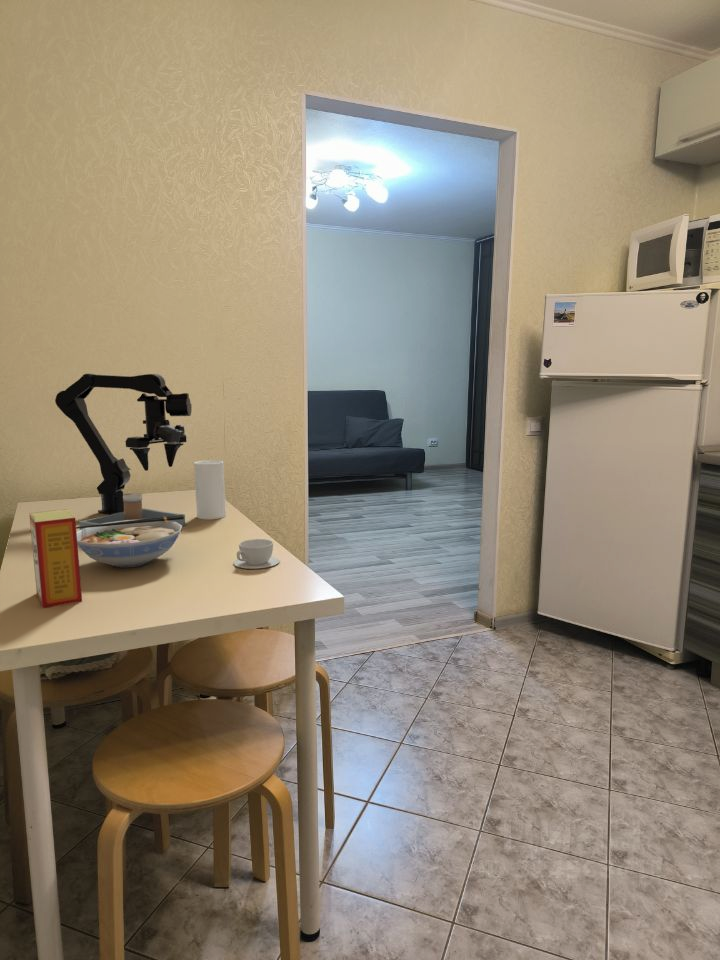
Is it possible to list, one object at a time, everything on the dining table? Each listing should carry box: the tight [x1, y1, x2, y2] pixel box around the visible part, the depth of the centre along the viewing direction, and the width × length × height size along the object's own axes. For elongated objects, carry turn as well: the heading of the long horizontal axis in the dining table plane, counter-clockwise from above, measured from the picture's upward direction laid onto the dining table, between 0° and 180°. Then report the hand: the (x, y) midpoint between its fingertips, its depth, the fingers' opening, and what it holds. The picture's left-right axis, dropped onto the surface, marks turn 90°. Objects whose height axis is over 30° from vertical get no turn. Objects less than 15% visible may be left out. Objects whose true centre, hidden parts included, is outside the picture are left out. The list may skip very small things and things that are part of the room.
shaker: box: [123, 492, 143, 520], centre depth 176 cm, size 5×5×8 cm
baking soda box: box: [28, 509, 83, 609], centre depth 121 cm, size 10×6×16 cm
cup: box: [193, 459, 227, 520], centre depth 190 cm, size 8×8×16 cm
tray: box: [78, 507, 186, 530], centre depth 176 cm, size 18×20×3 cm
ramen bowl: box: [76, 515, 184, 569], centre depth 144 cm, size 25×23×8 cm
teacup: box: [233, 538, 281, 570], centre depth 143 cm, size 10×10×5 cm
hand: (158, 468), depth 197 cm, fingers open, 9 cm apart
